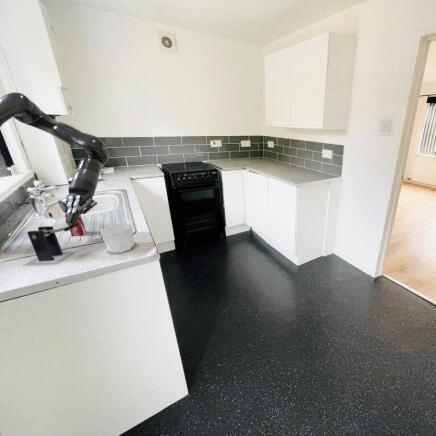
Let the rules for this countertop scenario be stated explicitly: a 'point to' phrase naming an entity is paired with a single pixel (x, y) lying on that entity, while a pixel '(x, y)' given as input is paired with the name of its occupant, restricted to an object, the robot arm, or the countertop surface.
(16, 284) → the countertop surface
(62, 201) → the robot arm
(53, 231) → the tap lever
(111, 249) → the cup
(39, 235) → the bracket
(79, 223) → the soda can
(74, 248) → the countertop surface
